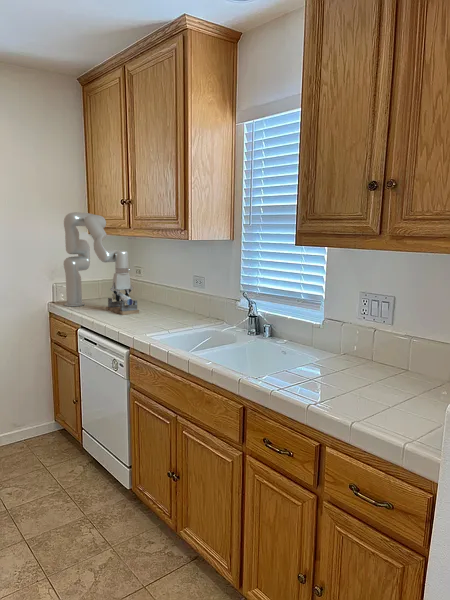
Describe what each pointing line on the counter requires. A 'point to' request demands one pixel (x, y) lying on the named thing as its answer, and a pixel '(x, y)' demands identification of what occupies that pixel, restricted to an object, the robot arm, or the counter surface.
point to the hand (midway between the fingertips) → (122, 300)
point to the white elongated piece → (123, 298)
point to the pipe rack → (122, 307)
